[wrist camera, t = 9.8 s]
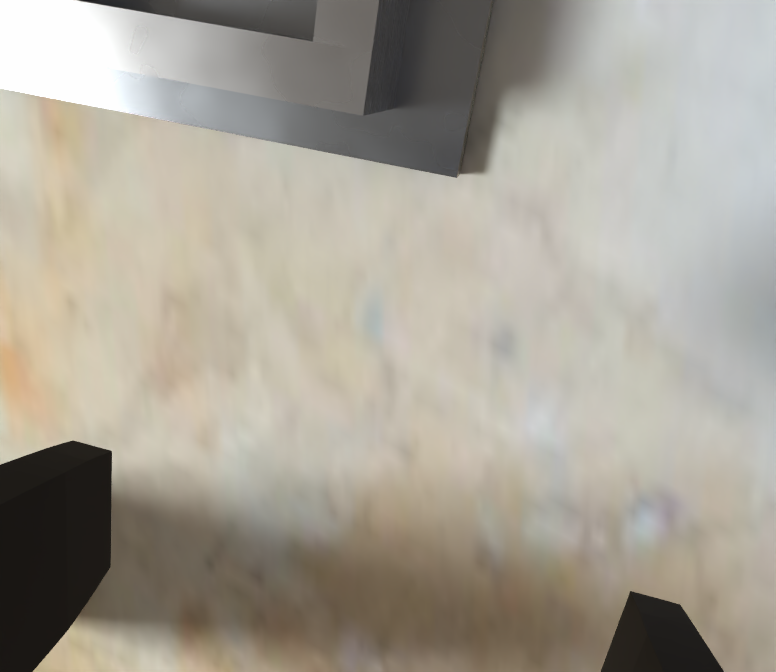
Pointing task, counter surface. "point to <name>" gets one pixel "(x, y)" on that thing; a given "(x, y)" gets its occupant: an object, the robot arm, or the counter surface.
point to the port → (265, 68)
